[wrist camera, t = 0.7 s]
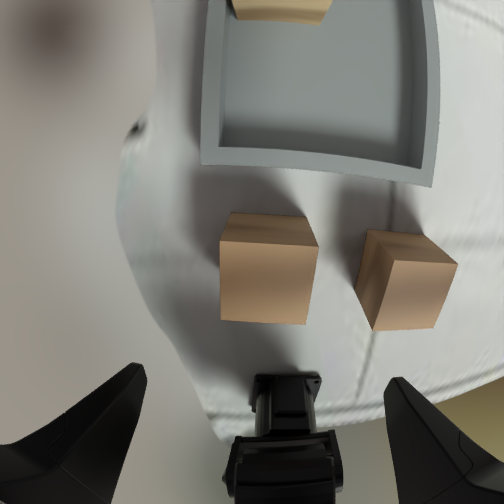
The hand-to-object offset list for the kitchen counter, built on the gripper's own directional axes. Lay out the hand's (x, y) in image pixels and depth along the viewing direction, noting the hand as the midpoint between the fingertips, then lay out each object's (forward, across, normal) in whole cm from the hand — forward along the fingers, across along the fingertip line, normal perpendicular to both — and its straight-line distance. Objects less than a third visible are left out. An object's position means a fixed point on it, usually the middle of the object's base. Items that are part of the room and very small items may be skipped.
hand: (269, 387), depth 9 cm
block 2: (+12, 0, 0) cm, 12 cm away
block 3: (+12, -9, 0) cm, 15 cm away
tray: (+12, -3, -14) cm, 18 cm away
